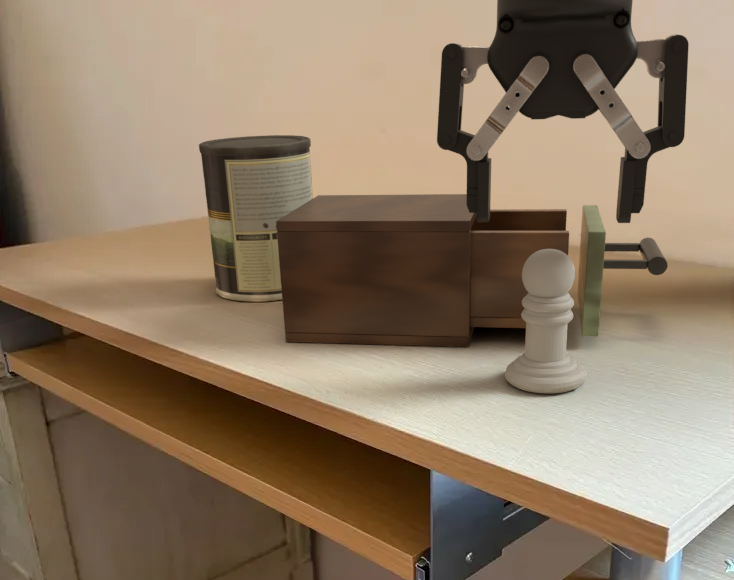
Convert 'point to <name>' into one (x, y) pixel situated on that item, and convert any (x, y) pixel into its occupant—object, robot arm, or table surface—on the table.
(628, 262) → the drawer
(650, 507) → the table surface
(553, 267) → the chess piece
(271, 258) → the coffee can
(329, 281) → the cabinet
